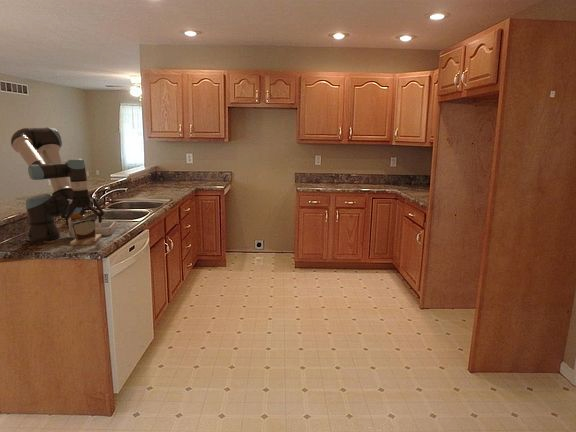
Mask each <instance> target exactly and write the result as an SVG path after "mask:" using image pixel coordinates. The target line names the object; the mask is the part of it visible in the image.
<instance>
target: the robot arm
mask: <svg viewBox="0 0 576 432" xmlns="http://www.w3.org/2000/svg"><path fill="white" fill-rule="evenodd" d="M10 145H11V147H12V148H13V150H14V151H15V152H16V153H18V154H20V156H21V157H22V159H23V160H24V161H25V163H26V164H27V165H28V168H27V172H28V176H29V178H30V180H33V181H42V180H49V181H50V184H51V186H52V189H53V192H52V193H51V194H50V193H41V194H37V195H33V196H30V197H28V198H26V199H25V209H26V213H27V218H28V219H27V220H28V224H29V226H28V232H27V237H26V238H27V241H28V242H29V241H30V242H31V243H38V242H39V243H40V242H41V243H42V242H49V241H54V240H56V239H59V238H60V237H61V232H60V230H59V228H58V226H57V224H56V223H55V218H61V219H64V220H65V224H66V226H68V232H69V231H70V232H71V231H73V229H72V228H73V226H71V218H69V217H70V216H71V215H73V214H78V213H80V212H81V210H82V207H83V208H88V209H89V210H91V212H92V213H94V214H95V215H96V223H97V224H98V230H99V229H101V225H100V223H101V222H103V220H102V219H103V218H102V217H103V216H104V215H105V214H106V212H105V211H104V210H103V208H102V207H101V205H100V204H99V203H98V201H97V197H93V198H91V197H90V193H89V189H88V188H89V187H88V186H89V185H88V179H87V169H86V163H85V159H83V158H70V159H68V160H67V161H62V158H61V155H60V152H59V151H60V150H61V148H62V145H63V142H62V137H61V134H60V133H59V132H58V130H57V129H56V128H54V127H48V126H47V127H29V128H28V127H25V128H24V127H23V128H20V129H18V130H17V131H15V132H14V133H13V134H12V136H11V138H10ZM68 178H69V179H70V180H69V179H68ZM69 181H70V182H69ZM91 203H93V205H94V206H93V205H92V204H91Z"/></svg>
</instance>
